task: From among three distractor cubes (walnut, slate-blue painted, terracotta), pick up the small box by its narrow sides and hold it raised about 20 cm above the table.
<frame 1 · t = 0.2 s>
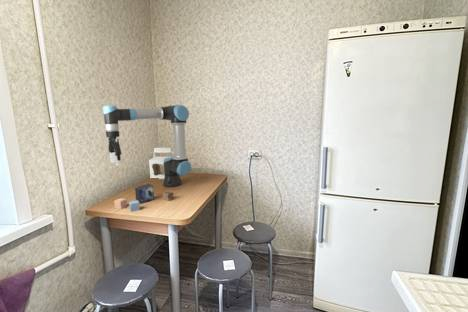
hand: (116, 163, 158), 27 cm above the table, fingers open, 13 cm apart
terracotta block: (121, 207, 158), on the table
small box: (145, 201, 168), on the table
walnut block: (168, 199, 170), on the table
slate block: (134, 209, 153), on the table
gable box: (164, 177, 232), on the table
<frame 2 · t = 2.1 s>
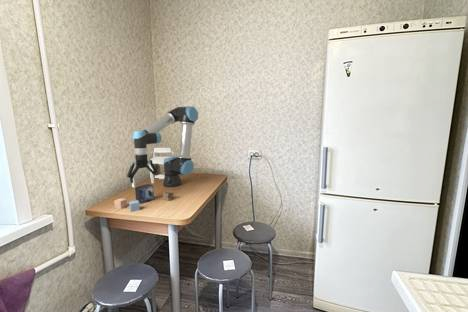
hand: (143, 185, 166), 11 cm above the table, fingers open, 13 cm apart
nothing on the table moved.
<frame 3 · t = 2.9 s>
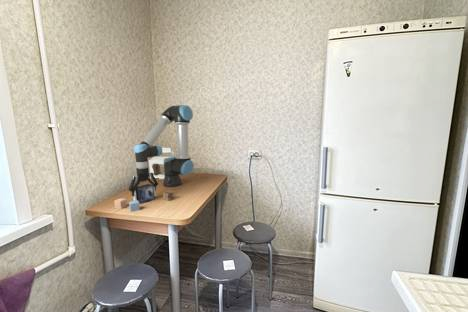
hand: (144, 198, 168), 2 cm above the table, fingers open, 13 cm apart
nothing on the table moved.
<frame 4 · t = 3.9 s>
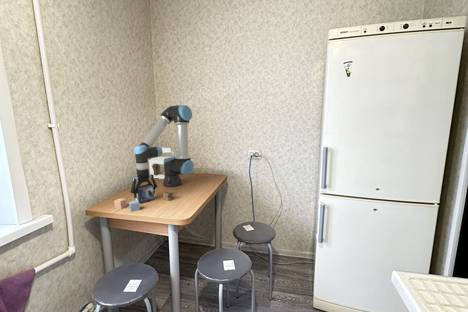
hand: (145, 200, 168), 0 cm above the table, fingers closed on small box, 11 cm apart
small box: (145, 201, 168), on the table, touching gripper
everything else where it was.
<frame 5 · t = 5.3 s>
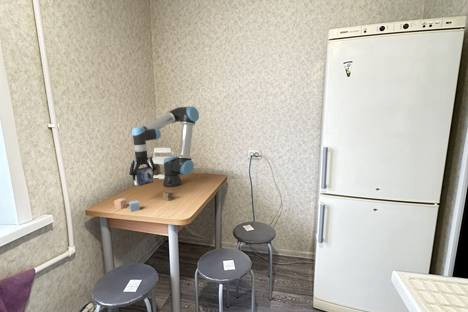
hand: (144, 182, 167), 13 cm above the table, fingers closed on small box, 11 cm apart
small box: (144, 183, 167), point 12 cm above the table, touching gripper
everything else where it was.
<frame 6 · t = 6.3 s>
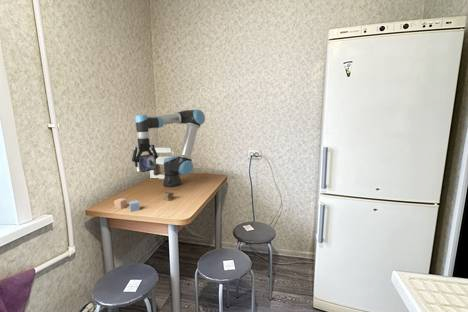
hand: (146, 169, 170), 21 cm above the table, fingers closed on small box, 11 cm apart
small box: (146, 170, 170), point 20 cm above the table, touching gripper
everything else where it was.
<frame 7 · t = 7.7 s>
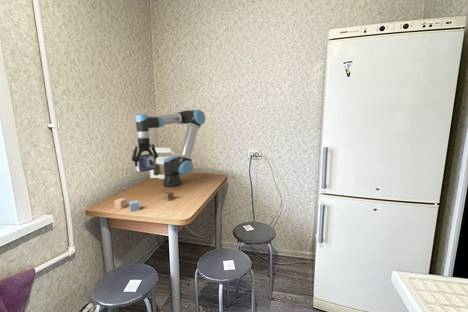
hand: (146, 169, 170), 21 cm above the table, fingers closed on small box, 11 cm apart
small box: (146, 170, 170), point 20 cm above the table, touching gripper
everything else where it was.
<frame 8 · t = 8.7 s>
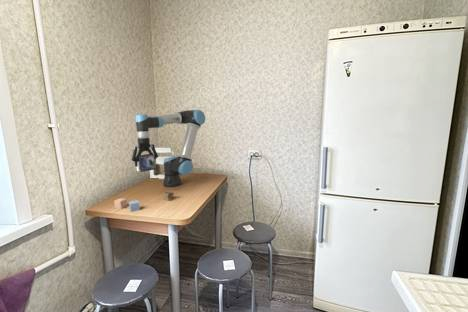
hand: (146, 169, 170), 21 cm above the table, fingers closed on small box, 11 cm apart
small box: (146, 170, 170), point 20 cm above the table, touching gripper
everything else where it was.
at the end: the gripper is holding small box; small box point 20.1 cm above the table; slate block moved 0.1 cm from its start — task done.
